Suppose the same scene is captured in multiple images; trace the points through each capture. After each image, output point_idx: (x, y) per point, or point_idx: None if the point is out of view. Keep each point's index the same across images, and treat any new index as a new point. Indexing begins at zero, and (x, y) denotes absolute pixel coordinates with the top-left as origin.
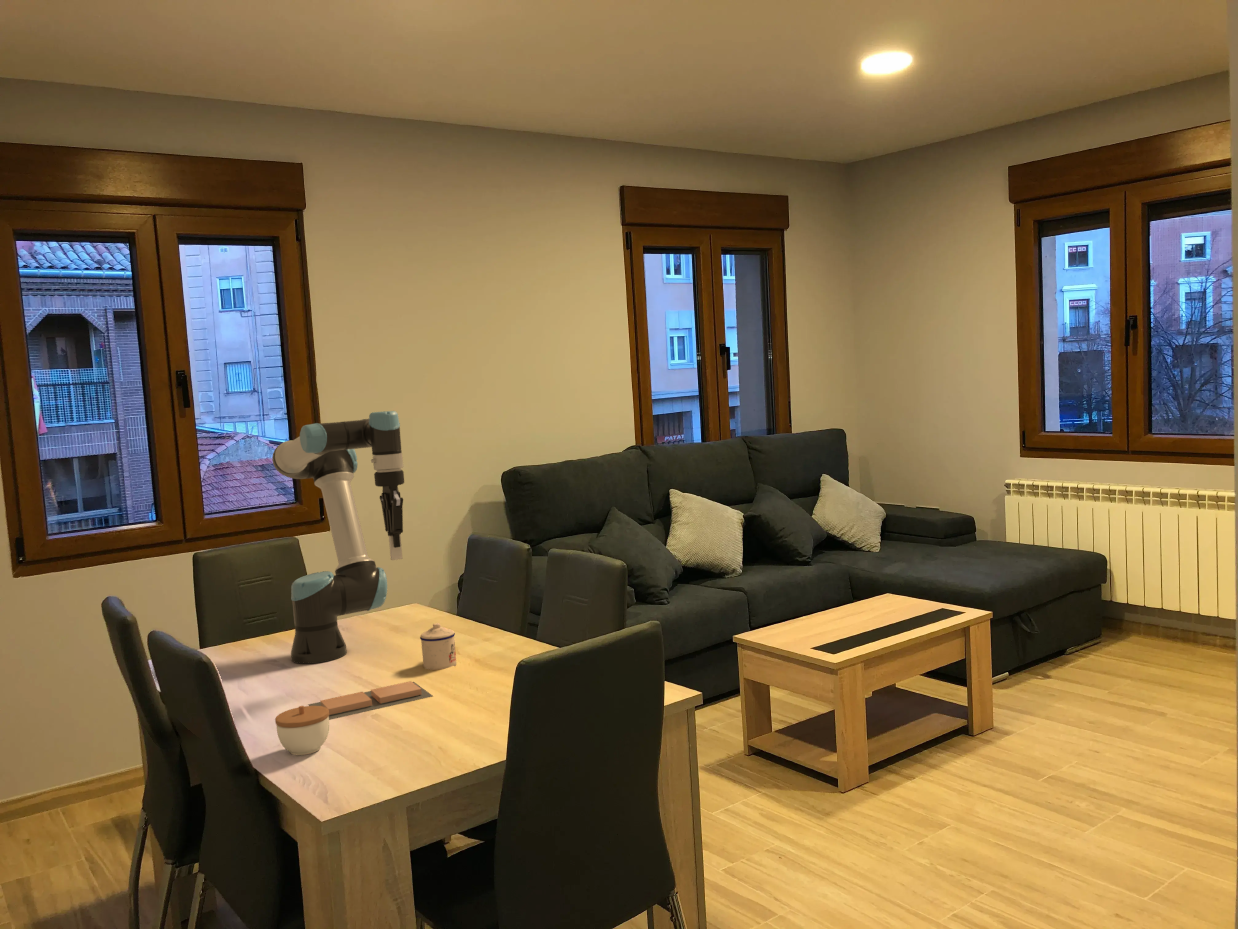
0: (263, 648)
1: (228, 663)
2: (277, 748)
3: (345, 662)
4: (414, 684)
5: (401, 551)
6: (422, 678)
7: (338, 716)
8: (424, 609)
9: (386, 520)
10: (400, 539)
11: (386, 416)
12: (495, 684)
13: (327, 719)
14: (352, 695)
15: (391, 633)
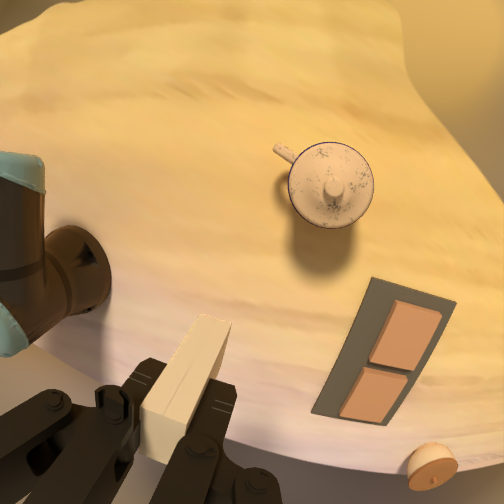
0: None
1: (38, 343)
2: (396, 463)
3: (136, 265)
4: (417, 310)
5: (221, 348)
6: (358, 247)
7: (392, 411)
8: (2, 35)
9: (30, 487)
10: (197, 397)
11: None
12: (489, 202)
13: (454, 458)
14: (365, 387)
15: (48, 119)
